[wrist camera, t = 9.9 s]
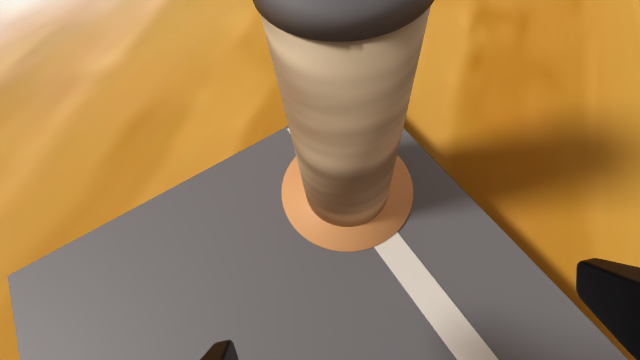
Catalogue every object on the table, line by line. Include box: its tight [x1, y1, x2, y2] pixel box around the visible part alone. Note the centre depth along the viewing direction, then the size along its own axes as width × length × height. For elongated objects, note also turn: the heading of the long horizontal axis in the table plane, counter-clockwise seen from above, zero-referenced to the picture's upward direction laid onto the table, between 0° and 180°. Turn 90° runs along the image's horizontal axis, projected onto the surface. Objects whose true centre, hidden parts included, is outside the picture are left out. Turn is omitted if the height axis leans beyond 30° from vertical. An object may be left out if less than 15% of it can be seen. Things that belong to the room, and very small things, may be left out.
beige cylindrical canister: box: [253, 0, 434, 227], centre depth 13 cm, size 5×5×12 cm
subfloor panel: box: [8, 126, 628, 360], centre depth 16 cm, size 19×22×2 cm
